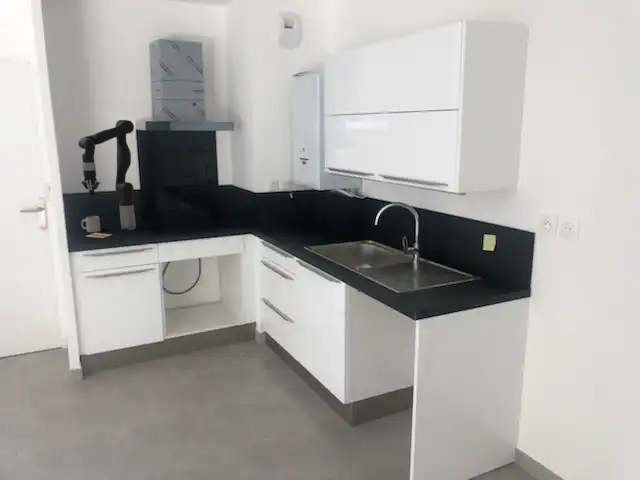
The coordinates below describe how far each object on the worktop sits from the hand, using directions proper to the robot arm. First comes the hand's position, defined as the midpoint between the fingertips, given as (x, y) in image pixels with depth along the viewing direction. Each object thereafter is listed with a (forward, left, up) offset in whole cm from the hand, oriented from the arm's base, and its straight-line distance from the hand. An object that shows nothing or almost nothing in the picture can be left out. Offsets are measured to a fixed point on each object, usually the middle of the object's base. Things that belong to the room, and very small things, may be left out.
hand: (92, 195), depth 343 cm
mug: (-7, -9, -27) cm, 29 cm away
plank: (+3, +2, -27) cm, 27 cm away
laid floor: (+4, +5, -27) cm, 28 cm away
